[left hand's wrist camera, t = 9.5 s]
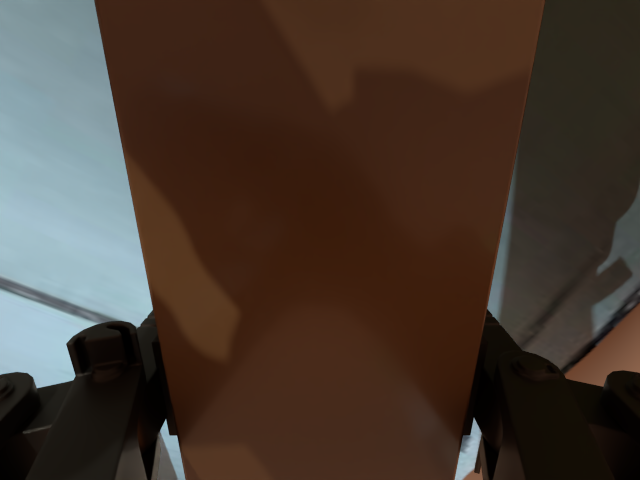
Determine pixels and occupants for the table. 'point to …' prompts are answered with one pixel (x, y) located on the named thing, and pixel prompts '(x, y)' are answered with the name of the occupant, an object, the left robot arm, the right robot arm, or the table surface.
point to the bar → (319, 219)
